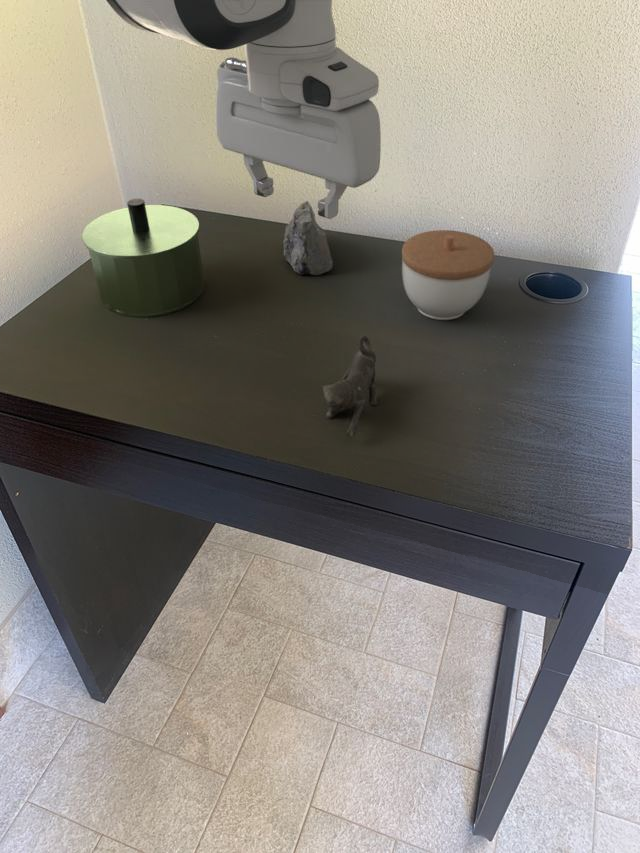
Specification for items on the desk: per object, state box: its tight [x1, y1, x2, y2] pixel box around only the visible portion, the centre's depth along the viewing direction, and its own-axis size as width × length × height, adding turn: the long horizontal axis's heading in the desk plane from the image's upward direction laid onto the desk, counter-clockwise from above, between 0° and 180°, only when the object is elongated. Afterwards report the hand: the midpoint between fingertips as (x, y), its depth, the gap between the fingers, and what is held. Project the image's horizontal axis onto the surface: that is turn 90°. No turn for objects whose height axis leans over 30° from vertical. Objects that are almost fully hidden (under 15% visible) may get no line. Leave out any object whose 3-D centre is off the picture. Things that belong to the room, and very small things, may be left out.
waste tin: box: [87, 233, 205, 318], centre depth 102 cm, size 16×16×10 cm
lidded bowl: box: [401, 229, 495, 321], centre depth 97 cm, size 13×13×11 cm
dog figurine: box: [322, 334, 378, 437], centre depth 81 cm, size 12×6×7 cm, turn 159°
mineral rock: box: [282, 200, 334, 276], centre depth 109 cm, size 13×11×10 cm
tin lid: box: [81, 198, 200, 259], centre depth 97 cm, size 17×17×5 cm
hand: (295, 205), depth 77 cm, fingers open, 8 cm apart
